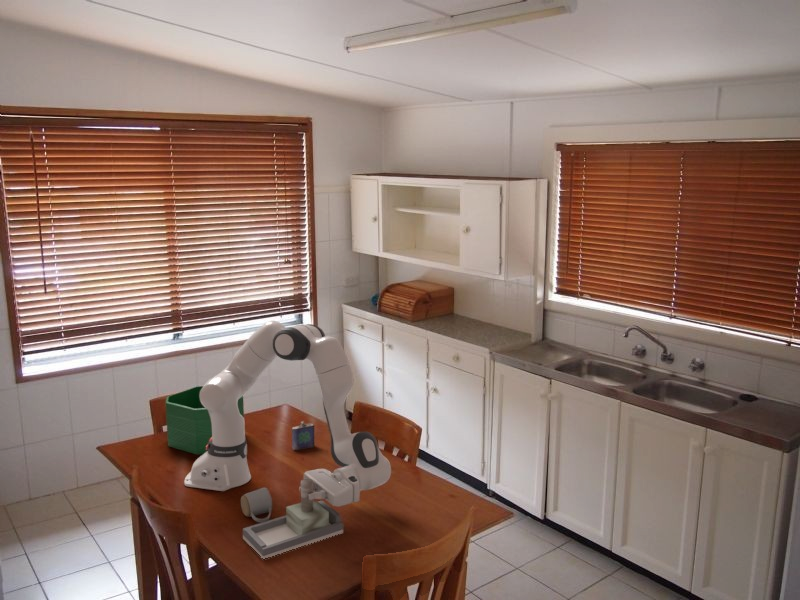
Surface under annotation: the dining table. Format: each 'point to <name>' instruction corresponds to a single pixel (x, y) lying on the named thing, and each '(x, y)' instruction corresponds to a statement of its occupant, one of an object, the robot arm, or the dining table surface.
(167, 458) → the dining table surface
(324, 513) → the block with upright post
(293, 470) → the dining table surface
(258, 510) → the ceramic mug
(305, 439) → the flask
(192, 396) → the planter
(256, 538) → the tray
